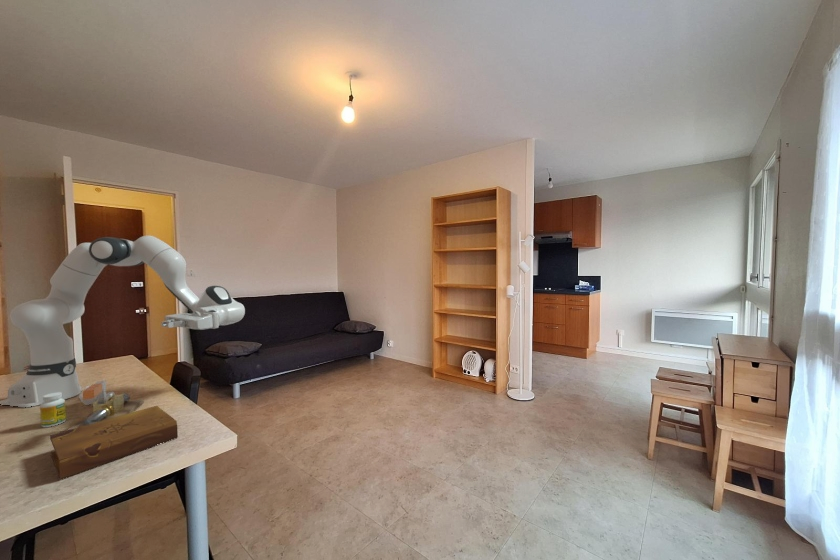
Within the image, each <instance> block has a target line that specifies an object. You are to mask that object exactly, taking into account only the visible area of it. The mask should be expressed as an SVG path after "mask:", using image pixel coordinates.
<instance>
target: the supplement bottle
mask: <svg viewBox="0 0 840 560" xmlns="http://www.w3.org/2000/svg"><path fill="white" fill-rule="evenodd" d="M61 397H62V393H61V392H58V393H51V394H47V395H45V396H43V401H44V402H43V403H42V404H40V407H39V409H40V410H39V411H40V424H41V425H40V426H41V427H42V428H51V426H52V427H55V425H56V426H59V425H61V423H62V424H64V423H65V422H66V421H67V411H66V399H62V398H61ZM63 422H64V423H63ZM58 424H59V425H58Z"/></svg>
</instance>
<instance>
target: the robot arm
mask: <svg viewBox="0 0 840 560" xmlns="http://www.w3.org/2000/svg"><path fill="white" fill-rule="evenodd" d="M142 264H146V265H147V266H148V267H149V268H151V270H153V271H154V272H155V273H156V274H157V276H159V278H160V279H161V281H162V282H163V285H164V286H165V288H166V289H167V290H168V291H169V292H170V293H171V294H172V295H173V296H174V297H175V298H176V299H177V300H178V301H179V302H180V303H181V304H182V305H183V306H184V307H185V308H186V309H187V310H188V311H189V313H188V312H187V313H186V312H185V313H184V312H183V313H174V314H168V315H167V314H166V315H165V316H164V321H161V322H160V326H161V327H162V328H168V329H171V328H183V329H189V330H190V329H191V330H200V331H202V330H209V329H210V330H211V329H213V330H215V329H219V328H220V327H219V326H228V325H232V324H235V323H238V322H240V321H241V320H242V319H243V318H244V316H245V314H246V308H245V306H244V304H242V303H241V302H238V301H237V300H235V299H234V298H233V297H232V296H231V295H230V293H229V291H228V290H227V288H225V287H223V286H220V285H210V286H207V287H206V289H204V291H203V293H202V294H201V296H200V297H198V295H197V294H195V293H194V291H192V289H190V287H189V286H188V284H187V280H186V272H187V261H186V260H185V257H184V256H183V255H182V254H181V253H180V252H178V251H177V250H176V249H174V248H173V247H172V246H170V245H169V244H168V243H166V242H165V241H163V240H162V239H160V238H158V237H156V236H154V235H149V234H147V235H143V236H140V237H139V238H137V239H136V240H134V241H132V240H129V239H125V238H117V237H114V236H113V237H112V236H105V237H104V236H103V237H99V238H98V237H97V238H96V239H94V240H93V241H91V242H82V243H79V244H78V245H76V247H74V248H73V249H72V250H71V251H70V253H69V254H68V255H67V256H66V257H65V258H64V260H63V261H62V262H61V263H60V265H59V266H58V268H57V269H56V270H55V272H54V274H52V276H51V278H49V279H50V280H49V283H50V286H51V288H50V291H49V293H48V295H47V296H46V297H45V298H41V299H40V298H38V299H31V300H29V301H25V302H23V303H20V304H17V305H16V306H14V307H13V308H12V309H11V311H10V313H9V319H10V322H11V323H12V324H13V326H15V327H17V328H18V329H20V330H21V331H22V333H23V334H24V337H25V338H26V340H27V342H28V346H29V354H30V355H29V356H30V365H26V366H23V368H24V369H23V371H26V374H25V375H24V376H23V377H21V378H20V379H19V380H17V381H15V382H14V383H12V384H11V385H10V386H9V387H8V389H7V397H6V398H4V399H2V400H0V404H3V405H10V406H9V407H13V406H18V407H17V408H25V407H26V408H31V406H32V407H35V406H39V405H41V404H42V403H43V402H44V401H43V396H45V395H47V394H51V393H58V392H61V393H62V397H61V398H62V399H64V400H67V399H70V398H73V397H76V396H79V395H80V394H81V393H82V392H83V390H82V385H80V382H79V377H78V371H77V370H76V368H77V361H76V358H75V353H74V351H75V350H74V340H73V338H72V337H71V336H69V335H68V334H67V332H66V330H65V328H64V325H66V324H70V323H72V322H74V321H76V320H78V319H79V318H80V317H82V316H83V315H84V314H85V304H84V303H85V300H86V298H87V294H88V292H89V291H90V289H91V287H92V286H93V285H94V283H95V281H96V279H97V278H98V277H99V275H100V274H101V273H102V271H103V270H104V268H105V267H107V266H108V265H109V266H115V267H137V266H140V265H142Z"/></svg>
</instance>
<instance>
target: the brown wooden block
mask: <svg viewBox="0 0 840 560" xmlns="http://www.w3.org/2000/svg"><path fill="white" fill-rule="evenodd" d="M67 430H68V429H67ZM67 430H65V431H61V432H57V433H54V434H53V433H52V434H50V435H49V439H50V442H51V444H52V447H53V450H54V451H51V452H50V455H52V456H51V459H52V460H53V464H54V463H55V464H54V467H55V466H56V467H55V469H56V472H57V475H58V474H59V475H58V477H60V478H59V480H60V479H62V480H64V479H67V478H69V476H70V477H73V476H75V474H76V475H78V474H81V473H83V471H84V472H87V471H89V469H90V470H92V469H95V468H98V467H100V465H101V466H103V465H106V464H109V463H111V462H114V461H115V462H116V461H117V460H120V459H123V458H126V457H129V456H130V455H134V454H136V452H137V453H140V452H143V451H145V450H147V448H148V449H150V448H149V447H151V448H153V447H152V446H154V447H156V446H158V445H157V444H159V445H161V444H160V443H162V444H164V443H163V442H165V443H167V442H166V441H168V442H170V441H172V440H171V439H173V440H175V439H174V438H176V439H178V435H179V434H178V422H177V420H176V419H175V418H174V417H173V416H171V415H170V414H168V413H167V412H166V411H165V410H163V409H162V408H161V407H159V405H154V406H151V407H146V408H143V409H140V410H137V411H136V410H135V411H134V412H132V413H128V414H125V415H121V416H118V417H114V418H111V419H107V420H103V421H100V422H96V423H93V424H89V425H85V426H82V427H78V428H75V429H71V430H68V431H67ZM169 440H170V441H169ZM155 445H156V446H155ZM144 449H145V450H144ZM139 451H140V452H139ZM128 455H129V456H128ZM125 456H126V457H125ZM97 466H98V467H97ZM94 467H95V468H94ZM86 470H87V471H86ZM80 472H81V473H80ZM72 475H73V476H72ZM66 477H67V478H66ZM63 478H64V479H63Z"/></svg>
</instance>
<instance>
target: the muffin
mask: <svg viewBox="0 0 840 560" xmlns="http://www.w3.org/2000/svg"><path fill="white" fill-rule="evenodd" d="M91 385H92V384H89V385H87V386H85V387H84V388H83V390H82V392H81V393H80V394H78V398H79V400H80V401H81V402H82V403H83V404H84V405H85V406H88V405H89V404H91V405H93V403H94V402H96V401H97V396H96V397H95V398H91V399H85V400H83V391H84V390H86V389H87V388H88V387H89V386H91ZM89 406H90V405H89Z"/></svg>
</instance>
